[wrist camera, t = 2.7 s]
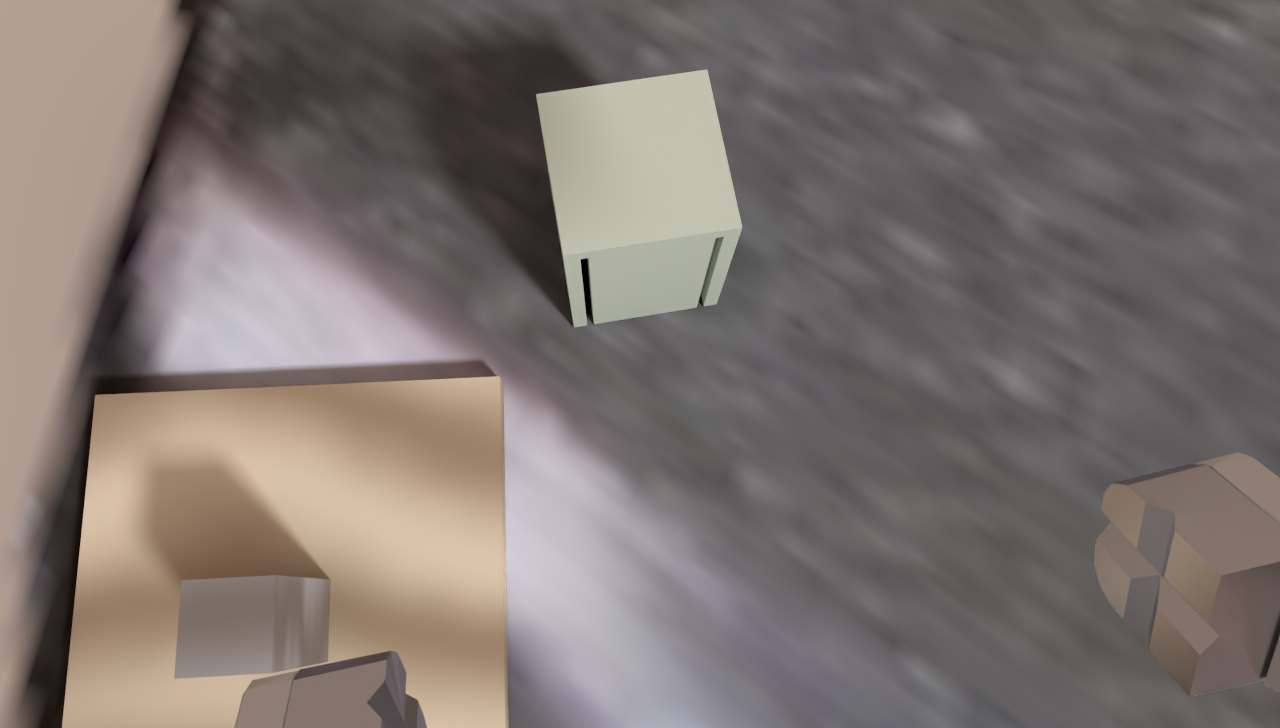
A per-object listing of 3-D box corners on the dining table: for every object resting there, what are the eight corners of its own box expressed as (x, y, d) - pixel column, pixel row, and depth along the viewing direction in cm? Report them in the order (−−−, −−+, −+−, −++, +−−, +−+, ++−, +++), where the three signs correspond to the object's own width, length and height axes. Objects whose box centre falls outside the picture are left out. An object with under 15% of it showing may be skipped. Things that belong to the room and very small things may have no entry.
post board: (511, 869, 29) (485, 935, 23) (63, 899, 28) (-79, 974, 23) (503, 382, 33) (478, 336, 27) (110, 401, 32) (1, 357, 27)
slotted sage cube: (716, 304, 34) (742, 227, 27) (573, 327, 34) (562, 255, 27) (689, 174, 35) (707, 69, 28) (551, 195, 35) (536, 94, 28)
